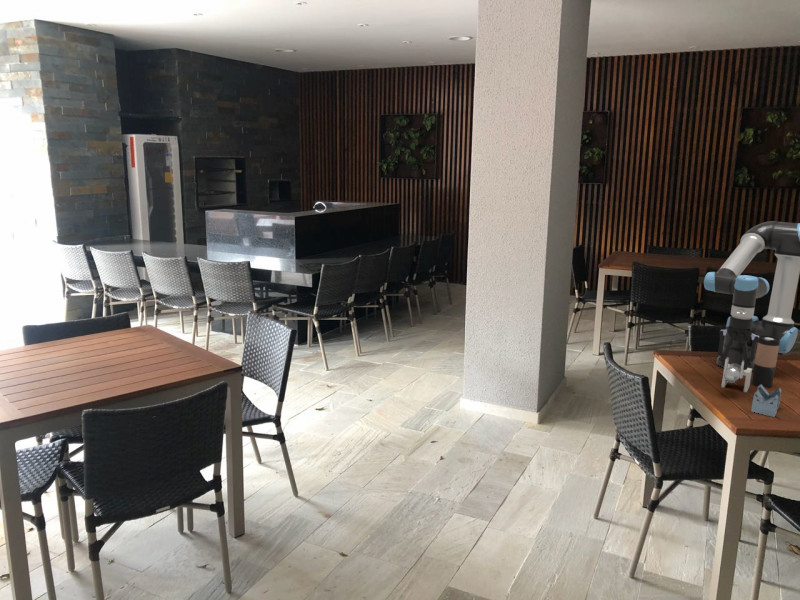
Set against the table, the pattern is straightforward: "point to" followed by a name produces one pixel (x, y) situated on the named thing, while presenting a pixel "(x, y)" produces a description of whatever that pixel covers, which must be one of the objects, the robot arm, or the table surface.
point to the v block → (766, 401)
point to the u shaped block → (747, 380)
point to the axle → (732, 373)
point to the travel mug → (765, 361)
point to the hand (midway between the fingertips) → (733, 375)
